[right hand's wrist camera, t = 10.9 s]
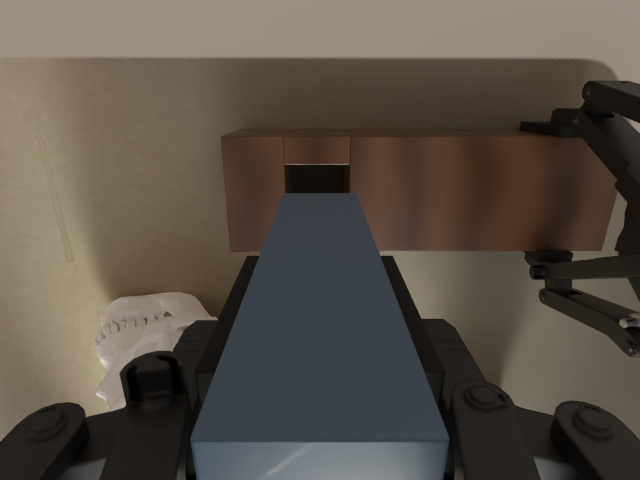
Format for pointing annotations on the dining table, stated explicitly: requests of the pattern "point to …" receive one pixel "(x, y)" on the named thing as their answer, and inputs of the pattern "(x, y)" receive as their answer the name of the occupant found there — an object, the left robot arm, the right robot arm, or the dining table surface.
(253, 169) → the walnut block
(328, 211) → the peg
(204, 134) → the dining table surface
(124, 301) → the skull
